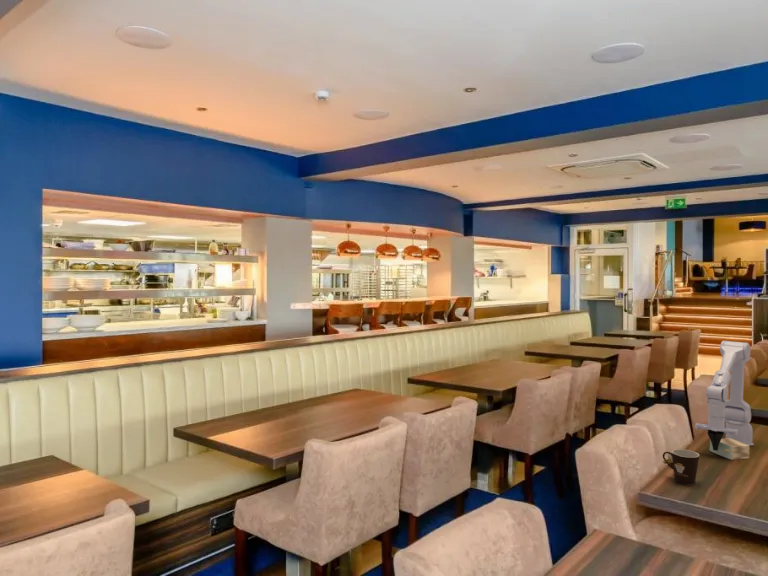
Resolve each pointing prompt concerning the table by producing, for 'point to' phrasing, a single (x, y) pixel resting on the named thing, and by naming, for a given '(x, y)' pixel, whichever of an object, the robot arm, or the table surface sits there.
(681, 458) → the coffee mug
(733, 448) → the cabinet
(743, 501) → the table surface
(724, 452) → the door
